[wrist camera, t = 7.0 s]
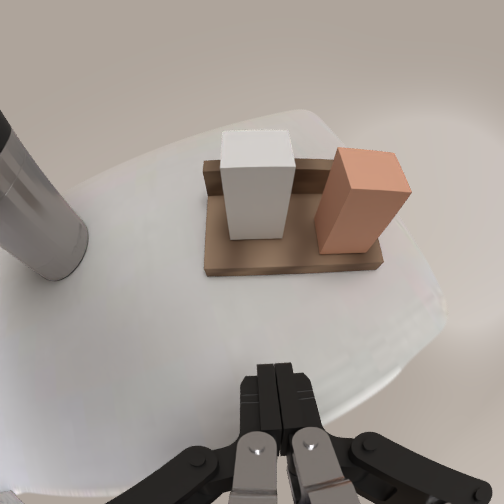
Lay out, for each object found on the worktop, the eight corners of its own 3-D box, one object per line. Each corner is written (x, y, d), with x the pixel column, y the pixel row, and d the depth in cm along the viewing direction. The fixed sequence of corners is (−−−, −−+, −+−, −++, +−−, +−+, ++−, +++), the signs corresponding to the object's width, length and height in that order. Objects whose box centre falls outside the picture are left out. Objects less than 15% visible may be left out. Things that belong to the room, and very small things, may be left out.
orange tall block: (319, 254, 26) (351, 188, 16) (313, 218, 27) (337, 147, 18) (366, 252, 26) (411, 192, 17) (358, 218, 27) (394, 153, 18)
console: (207, 276, 27) (196, 250, 22) (211, 196, 31) (203, 160, 26) (376, 269, 27) (401, 244, 22) (357, 195, 32) (373, 162, 26)
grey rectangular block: (230, 239, 26) (220, 168, 17) (230, 205, 28) (222, 130, 19) (282, 238, 26) (295, 166, 17) (278, 204, 28) (288, 129, 19)
